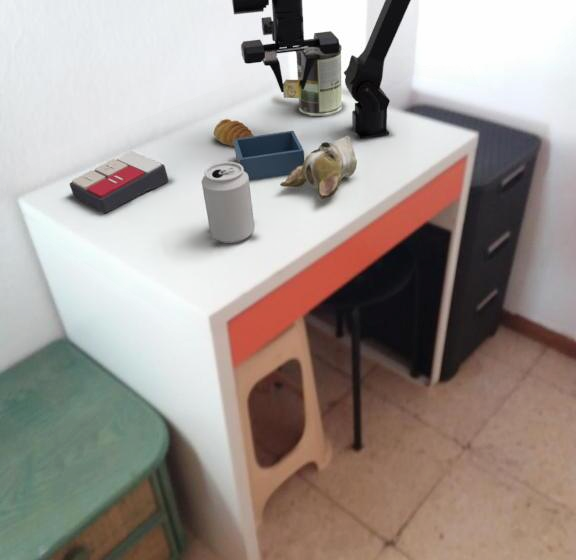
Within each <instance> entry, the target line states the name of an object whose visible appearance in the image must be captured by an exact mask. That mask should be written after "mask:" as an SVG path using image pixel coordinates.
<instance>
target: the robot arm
mask: <svg viewBox="0 0 576 560" xmlns="http://www.w3.org/2000/svg"><path fill="white" fill-rule="evenodd" d="M411 1H412V0H384V2H383V5H382V8H381V10H380V12H379V14H378V17H377V19H376V21H375V24H374V26H373V29H372V30H371V34H370V36H369V38H368V40H367V43H366V46H365V47H364V50H363V51H362V52H361V54H359V56H358V57H357V56H355V55H354V54H352V55H351V56H350V59H349V62H348V66H347V67H346V69H345V71H343V74H344V76H345V78H344V85H345V87H346V89H347V91H348V92H349V94H350V95H351V97H352V98H353V100H354V101H355V103H354V110H352V111H351V118H352V119H351V122H352V123H351V125H352V126H351V127H352V130H353V132H354V133H355V134H356V136H357V137H358V138H359V139H362V140H363V139H370V138H377V137H385V136H389V135H390V131H389V130H388V129H387V128H388V126H387V123H388V107H389V104H390V102H391V100H390V98H389V97H388V96H387V94H386V93H385V92H384V90H383V88H381V84H382V80H383V76H384V65H385V60H386V57H387V56H388V53H389V51H390V49H391V46H392V44H393V42H394V39H395V37H396V35H397V32H398V31H399V29H400V26H401V23H402V21H403V19H404V17H405V14H406V12H407V10H408V8H409V5H410V3H411ZM231 3H232V4H231V5H232V11H233V15H242V14H243V15H244V14H253V13H263V12H265V10H264V9H267V6H269V4H270V0H231ZM271 6H272V8H271V10H272V16H267V17H261V29H262V36H271V40H272V42H274V43H265V44H263V42H262V40H261V39H253V40H245V41H242V43H241V44H240V51H241V57H242V59H243V63H244V64H248V65H249V64H256V63H257V64H258V63H262V64H263V66H265V67H267V66H268V67H270V69H271V71H272V72H273V75H274V77H275V80H276V82H277V85H278V87H279V90H280V92H281V93H283V83H284V81H283V75H282V68H281V63H280V61H279V59H278V57H277V56H278V54H285V53H293V52H296V51H301V89H302V90H304V88H305V85H306V82H307V79H308V76H309V73H310V71H311V69H312V67H313V65H314V63H315V61H316V60H318V59H320V55H319V53H318V51H319V48H320V51H321V52H322V53H323V54H332V53H338V52H339V44H340V39H339V38H338V37H337V36H336V34H334V32H332V31H331V30H329V31H321V32H314V34H313V38H309V39H305V32H304V31H305V30H304V10H303V9H304V8H303V0H271Z"/></svg>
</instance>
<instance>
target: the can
mask: <svg viewBox="0 0 576 560" xmlns="http://www.w3.org/2000/svg"><path fill="white" fill-rule="evenodd" d="M243 170H244V169H243V166H241V165H240V164H238V163H237V162H235V161H220V162H216V163H213V164H211V165H209V166H208V167H207V168H206V169H204V172H203V174H204V175H203V176H202V179H201V187H202V192H203V193H202V194H203V198H204V205H205V209H206V216H207V221H208V227H209V232H210V236H211V237H212V238H213V239H215V240H217V241H219V242H221V243H224V244H235V243H236V244H237V243H240V242H243V241H245V240H246V239H248V238H249V236H251V235H252V234H253V232H254V231H255V219H254V209H253V202H252V193H251V187H250V184H251V183H250V180H249V177H248V174H247V173H246V172H245V171H243Z"/></svg>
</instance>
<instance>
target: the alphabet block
mask: <svg viewBox="0 0 576 560" xmlns="http://www.w3.org/2000/svg"><path fill="white" fill-rule="evenodd" d="M282 93H283V98H284V99H299V96H300V95H301V80H298V79H285V80H284V81H283V92H282Z"/></svg>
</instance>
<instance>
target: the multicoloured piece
mask: <svg viewBox="0 0 576 560" xmlns="http://www.w3.org/2000/svg"><path fill="white" fill-rule="evenodd" d="M168 182H169V176H168V173H167V169H166V166H165V164H163V163H161V162H158V161H156V160H153V159H152V158H149V157H147V156H144V155H141V154H139V153H136V152H134V151H129V152H126V153H124V154H122V155H121V156H119V157H117V158H116V159H115V158H113V159H111V160H108V161H107V162H105V163H103V164H101V165H99V166H97V167H95V168H94V170H89V171H88V172H85V173H83V174H81V175H80V176H79V175H78V176H77V177H75V178H74V179H72V180H71V182H70V183H69V187H70V189H71V192H72V195H73V197H74V198H75V199H77V200H79V201H81V202H83V203H85V204H86V205H89V206H91V207H92V208H94V209H96V210H98V211H100V212H102V213H104V214H108V213H109V212H111V211H113V210H115V209H116V208H118V207H120V206H122V205H124V204H125V203H127V202H129V201H131V200H132V199H134V198H136V197H138V196H141V194H143V193H145V192H147V191H148V190H155V189H158V188H159V187H161V186H163V185H165V184H167V183H168Z"/></svg>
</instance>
